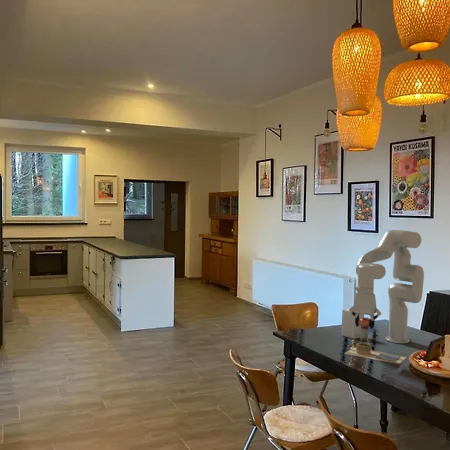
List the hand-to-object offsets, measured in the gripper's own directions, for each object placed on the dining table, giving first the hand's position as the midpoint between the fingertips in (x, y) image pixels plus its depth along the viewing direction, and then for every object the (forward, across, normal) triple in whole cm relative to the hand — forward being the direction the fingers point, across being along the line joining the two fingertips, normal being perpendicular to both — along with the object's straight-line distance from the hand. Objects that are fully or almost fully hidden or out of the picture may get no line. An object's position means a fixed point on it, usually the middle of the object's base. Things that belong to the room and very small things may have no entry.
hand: (364, 326), depth 242 cm
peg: (+7, 0, 0) cm, 7 cm away
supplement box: (+15, -18, +32) cm, 40 cm away
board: (+14, +6, -1) cm, 16 cm away
